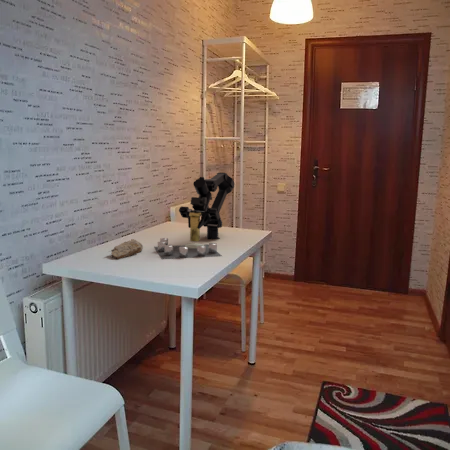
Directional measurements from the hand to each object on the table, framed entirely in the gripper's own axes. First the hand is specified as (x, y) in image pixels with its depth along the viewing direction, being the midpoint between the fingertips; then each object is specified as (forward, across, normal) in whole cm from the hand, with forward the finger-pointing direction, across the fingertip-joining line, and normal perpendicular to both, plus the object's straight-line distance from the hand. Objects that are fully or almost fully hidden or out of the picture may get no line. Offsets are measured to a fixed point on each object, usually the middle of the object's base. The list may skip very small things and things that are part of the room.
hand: (193, 227), depth 204 cm
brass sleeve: (+3, 0, +5) cm, 6 cm away
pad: (+6, 0, +7) cm, 9 cm away
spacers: (+15, 0, -2) cm, 15 cm away
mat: (+13, +1, 0) cm, 13 cm away
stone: (+22, -22, -9) cm, 32 cm away
